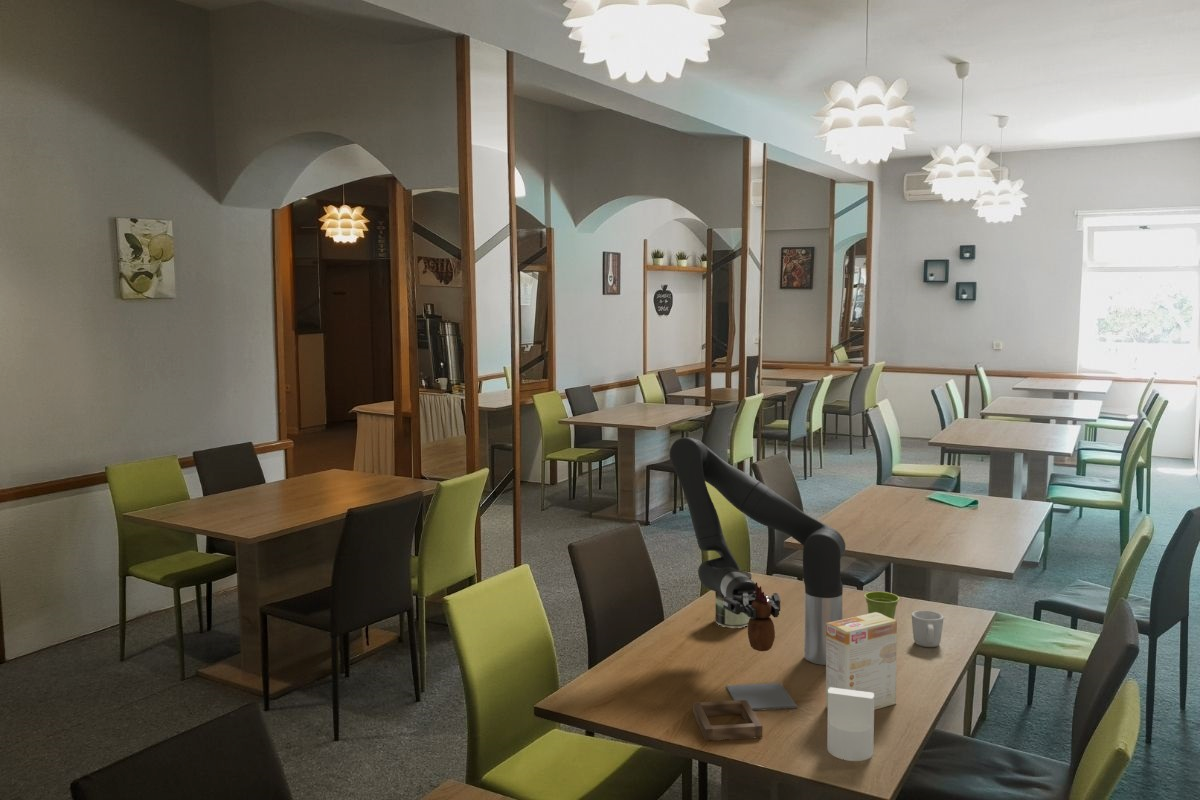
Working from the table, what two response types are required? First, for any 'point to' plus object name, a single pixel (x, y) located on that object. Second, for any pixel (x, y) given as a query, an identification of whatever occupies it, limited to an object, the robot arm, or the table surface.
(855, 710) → the base with upright slab
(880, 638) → the coffeecake box
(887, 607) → the plant pot
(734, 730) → the square wooden frame
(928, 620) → the cup
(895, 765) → the table surface
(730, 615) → the coffee can
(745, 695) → the mat
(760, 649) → the wooden figurine
